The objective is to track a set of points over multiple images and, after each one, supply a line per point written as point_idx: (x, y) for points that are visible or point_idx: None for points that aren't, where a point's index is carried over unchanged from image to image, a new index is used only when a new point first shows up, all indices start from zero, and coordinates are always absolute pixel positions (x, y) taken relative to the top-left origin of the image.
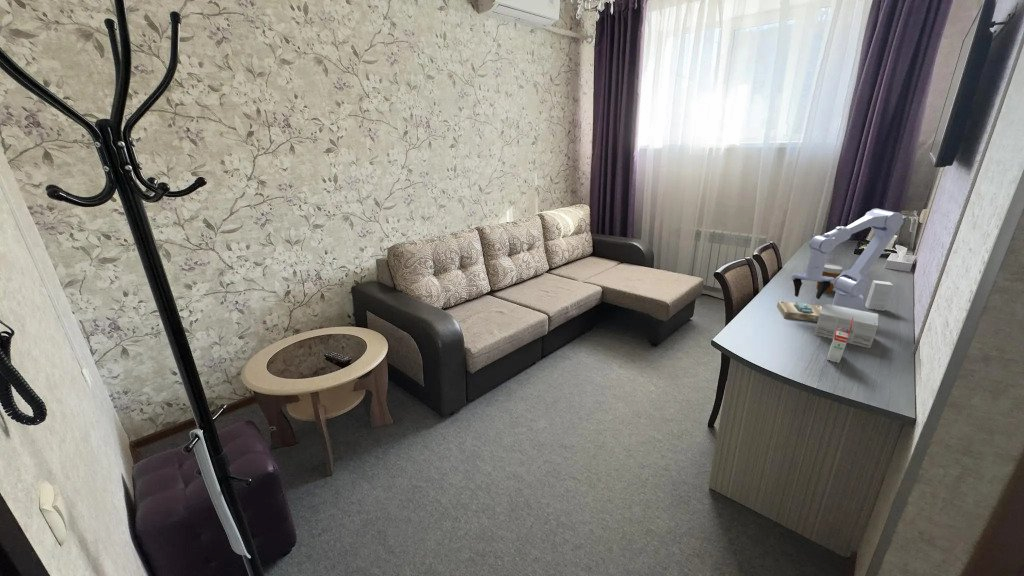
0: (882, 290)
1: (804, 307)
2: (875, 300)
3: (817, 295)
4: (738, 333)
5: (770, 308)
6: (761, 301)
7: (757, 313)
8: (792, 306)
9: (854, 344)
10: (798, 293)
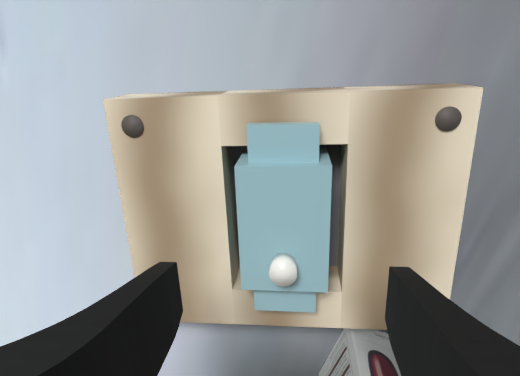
0: None
1: (271, 283)
2: None
3: (396, 314)
4: None
5: (84, 156)
6: (14, 7)
7: (14, 274)
8: (206, 200)
9: None
10: (163, 351)
